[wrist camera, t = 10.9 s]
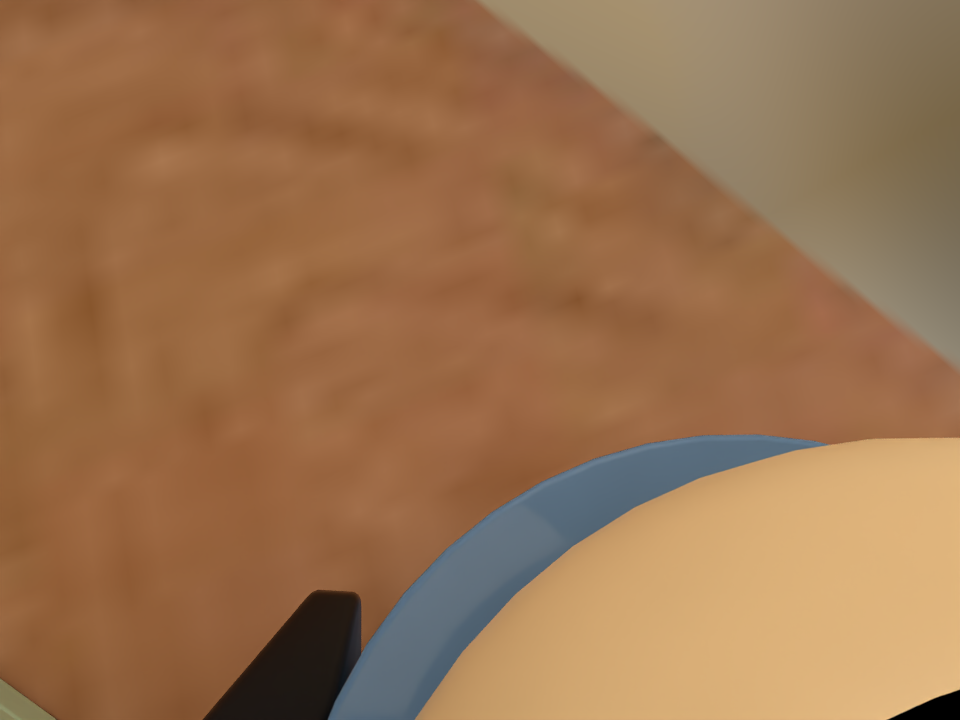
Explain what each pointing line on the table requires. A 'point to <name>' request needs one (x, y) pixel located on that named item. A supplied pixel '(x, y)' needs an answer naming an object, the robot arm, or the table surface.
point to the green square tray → (19, 706)
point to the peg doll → (691, 592)
